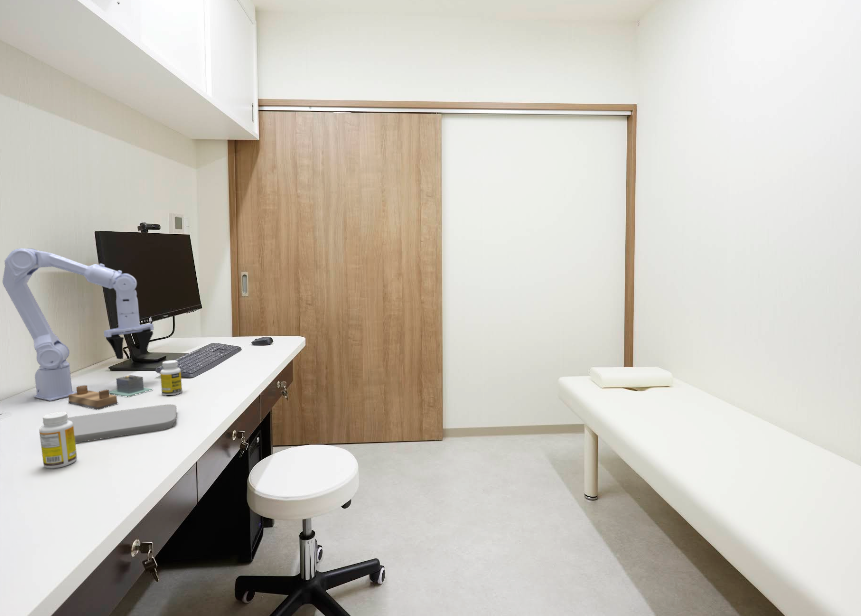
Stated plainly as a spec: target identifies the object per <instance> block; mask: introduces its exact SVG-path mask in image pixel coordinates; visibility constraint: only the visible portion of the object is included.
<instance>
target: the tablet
mask: <svg viewBox="0 0 861 616" xmlns="http://www.w3.org/2000/svg"><path fill="white" fill-rule="evenodd" d="M177 410H178V409H177V405H176V404H159V405H154V406H153V405H151V406H144V407H138V408H137V407H135V408H131V409H129V408H128V409H122V410H116V411H106V412H100V413H99V412H98V413H91V414H90V413H89V414H83V415H76V416H70V417H69V416H68V421H71V422H73V427H74V435H75V444H77V443H76V442H78V443H83V442H82V441H85V442H89V441H88V440H92V441H95V440H94V439H98V440H101V439H100V438H105V439H109V438H108V437H111V438H115V437H114V436H118V437H122V436H121V435H125V436H132V435H136V434H143V433H144V434H145V433H150V432H156V431H162V430H168V429H169V428H172V427H173V426H174V422H176V421H177Z"/></svg>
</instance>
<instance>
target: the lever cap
mask: <svg viewBox="0 0 861 616" xmlns="http://www.w3.org/2000/svg"><path fill="white" fill-rule="evenodd" d="M115 379H116V380H115V381H116V382H115V383H116V390H117V391H118V392H123V393H128V394H130V393H134V392H138V391H141V390H144V388H145V385H144V377H143V376H138V375H133V374H132V375H131V374H130V375H125V376H121V377H117V378H115Z"/></svg>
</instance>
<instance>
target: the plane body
mask: <svg viewBox="0 0 861 616" xmlns="http://www.w3.org/2000/svg"><path fill="white" fill-rule="evenodd" d="M75 389H76V392H77V393H74V394H70V395H68V404H71V405H75V406H79V407H83V406H84V407H83V408H88V407H89V408H88V409H92V408H94V409H93V410H97V409H98V410H101V409H100V408H102V409H104V407H105V408H108V406H109V407H112V406H111V405H113V406H115V405H114V404H116V405H118V404H119V402H118V398H117V396H118V395H113V394H109V391H110V390H109V389H103V390H99V391H94V390H89V389H88V385H85V384H84V385H78V386H76V388H75ZM117 403H118V404H117Z"/></svg>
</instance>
